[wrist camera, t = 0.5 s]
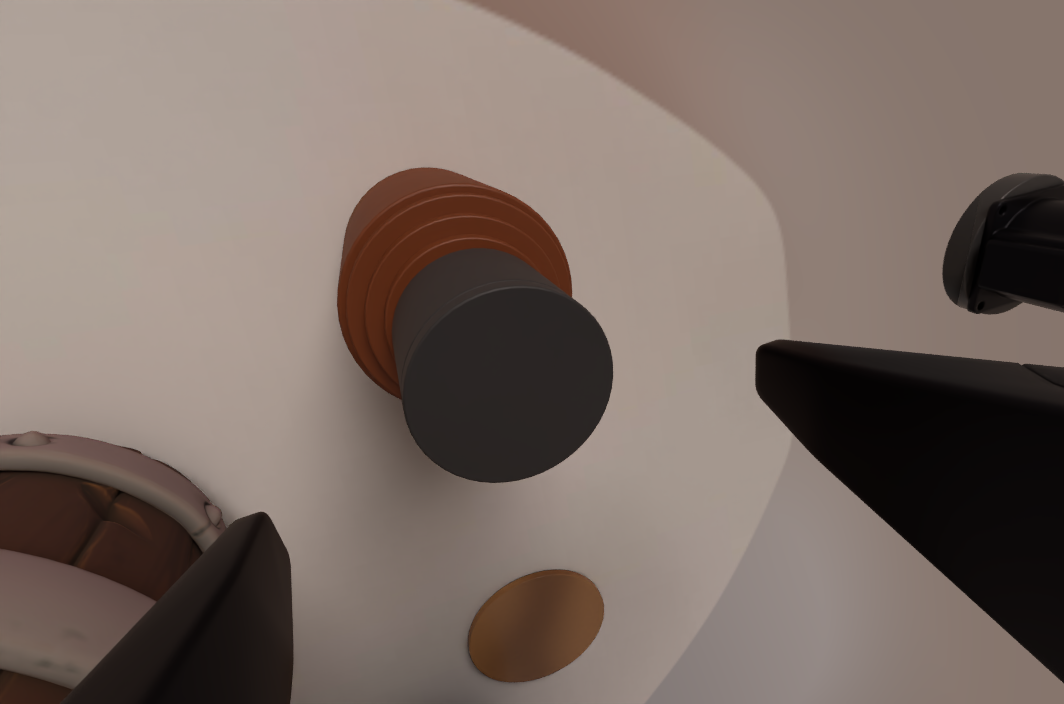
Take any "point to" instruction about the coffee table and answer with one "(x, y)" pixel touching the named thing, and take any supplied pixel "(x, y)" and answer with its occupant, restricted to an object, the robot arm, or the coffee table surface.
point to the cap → (497, 366)
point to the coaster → (535, 626)
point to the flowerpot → (85, 554)
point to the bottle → (426, 251)
